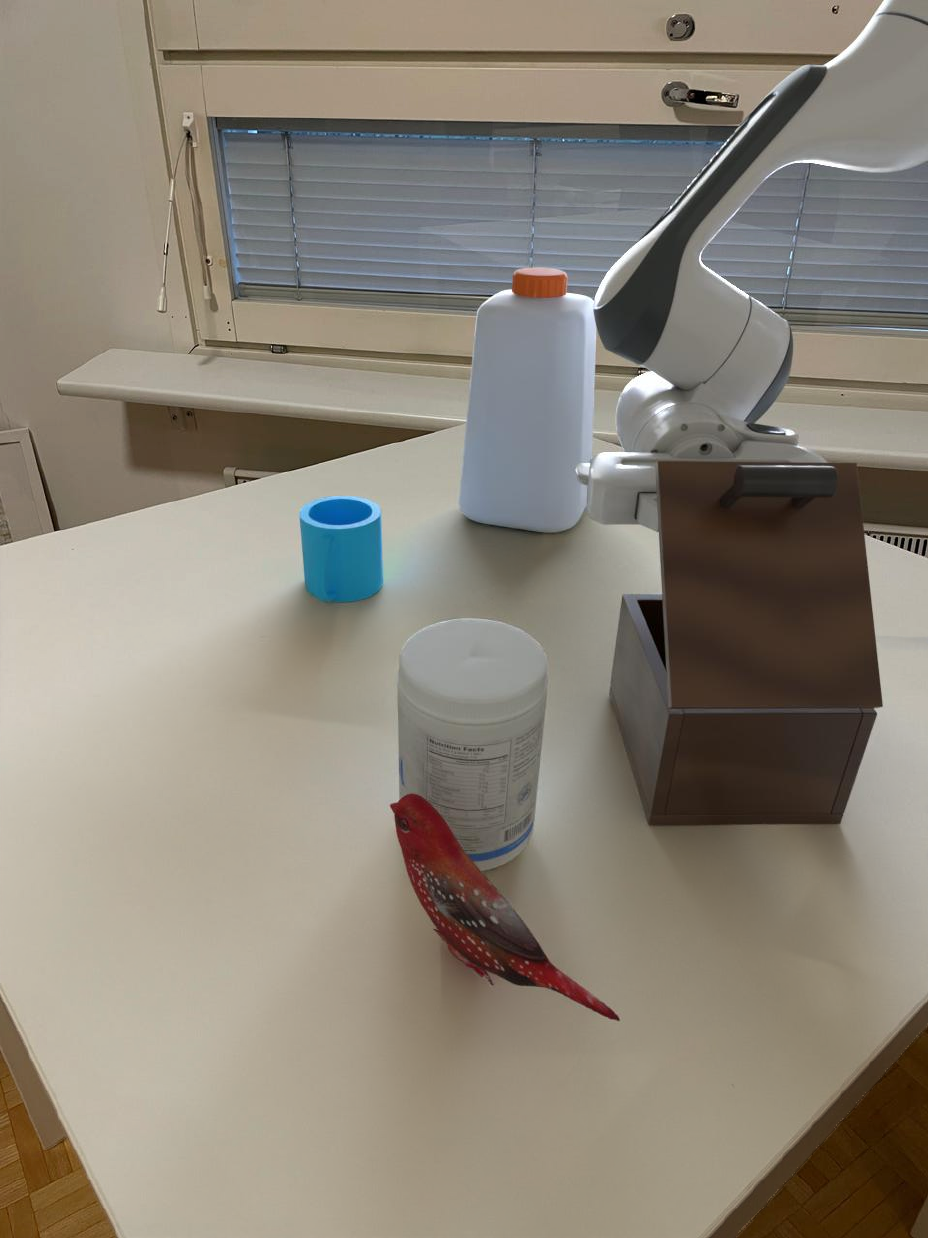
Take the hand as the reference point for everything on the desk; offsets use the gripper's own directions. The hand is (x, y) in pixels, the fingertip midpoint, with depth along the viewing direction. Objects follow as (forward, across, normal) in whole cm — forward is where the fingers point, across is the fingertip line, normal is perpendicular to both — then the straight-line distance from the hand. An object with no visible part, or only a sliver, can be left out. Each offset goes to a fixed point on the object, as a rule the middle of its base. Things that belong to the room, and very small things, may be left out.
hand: (739, 531), depth 64 cm
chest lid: (+6, 0, +1) cm, 6 cm away
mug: (-22, -32, +18) cm, 43 cm away
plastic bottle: (-44, -10, +18) cm, 48 cm away
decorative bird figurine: (+25, -19, +18) cm, 36 cm away
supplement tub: (+12, -20, +18) cm, 29 cm away
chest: (+4, 0, +17) cm, 18 cm away
